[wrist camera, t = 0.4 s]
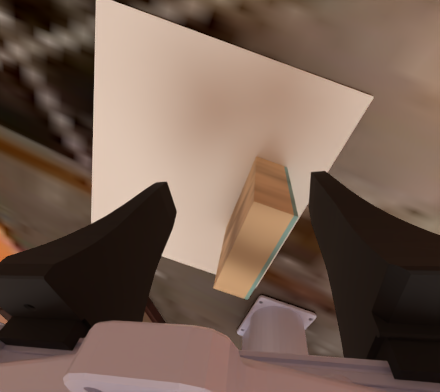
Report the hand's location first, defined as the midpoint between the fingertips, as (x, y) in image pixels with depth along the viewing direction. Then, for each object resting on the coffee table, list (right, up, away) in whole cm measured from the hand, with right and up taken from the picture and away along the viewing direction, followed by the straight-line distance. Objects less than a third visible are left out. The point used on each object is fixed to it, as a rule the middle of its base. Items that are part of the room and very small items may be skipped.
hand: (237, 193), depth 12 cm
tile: (+2, -1, +12) cm, 12 cm away
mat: (-3, +2, +12) cm, 13 cm away
